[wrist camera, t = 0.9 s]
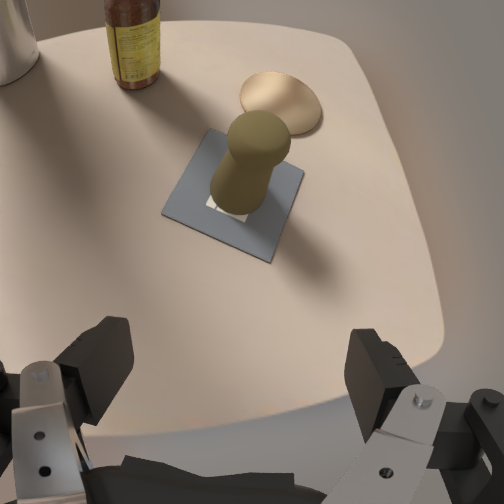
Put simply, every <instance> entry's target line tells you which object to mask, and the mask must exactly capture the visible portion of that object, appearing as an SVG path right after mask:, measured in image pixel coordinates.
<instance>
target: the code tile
mask: <svg viewBox="0 0 504 504" xmlns="http://www.w3.org/2000/svg"><path fill="white" fill-rule="evenodd" d="M227 150H228V143H227V135H226V134H223V133H221V132H219V131H216V130H214V129H211V128H210V130H209V131H208V133H207V134H206V136H205V138H204V139H203V141H202V143H201V144H200V146H199V148H198V149H197V151H196V152H195V154H194V156H193V157H192V159H191V161H190V163H189V164H188V166H187V168H186V169H185V171H184V173H183V175H182V176H181V178H180V180H179V181H178V183H177V185H176V187H175V189H174V190H173V192H172V194H171V196H170V197H169V199H168V201H167V203H166V205H165V207H164V208H163V210H162V212H161V214H162V215H165V216H167V217H169V218H171V219H173V220H176V221H178V222H180V223H182V224H184V225H187V226H189V227H191V228H193V229H195V230H198V231H200V232H202V233H204V234H207V235H209V236H211V237H213V238H215V239H218V240H220V241H222V242H224V243H226V244H229V245H231V246H233V247H235V248H238V249H240V250H242V251H244V252H246V253H249V254H251V255H253V256H255V257H258V258H260V259H262V260H264V261H266V262H269V263H270V261H271V258H272V256H273V253H274V250H275V248H276V245H277V242H278V240H279V237H280V235H281V232H282V229H283V227H284V224H285V221H286V219H287V216H288V213H289V211H290V208H291V205H292V203H293V200H294V197H295V195H296V192H297V189H298V186H299V184H300V181H301V178H302V176H303V173H304V171H303V170H301V169H299V168H297V167H295V166H293V165H291V164H289V163H287V162H285V161H282V162H281V163H280V164H278V165H277V166H275V167H274V168H273V172H272V175H271V178H270V182H269V185H268V188H267V191H266V195H265V198H264V201H263V203H262V204H261V206H260V207H259V208H258V209H257V210H255V211H254V212H253V213H250V214H246V215H233V214H230V213H227V212H225V211H223V210H222V209H220V208H219V207H218V206H217V205H216V204H215V202H214V201H213V199H212V197H211V194H210V182H211V179H212V177H213V175H214V173H215V171H216V169H217V168H218V166H219V164H220V162H221V161H222V159H223V157H224V155H225V153H226V152H227Z"/></svg>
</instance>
